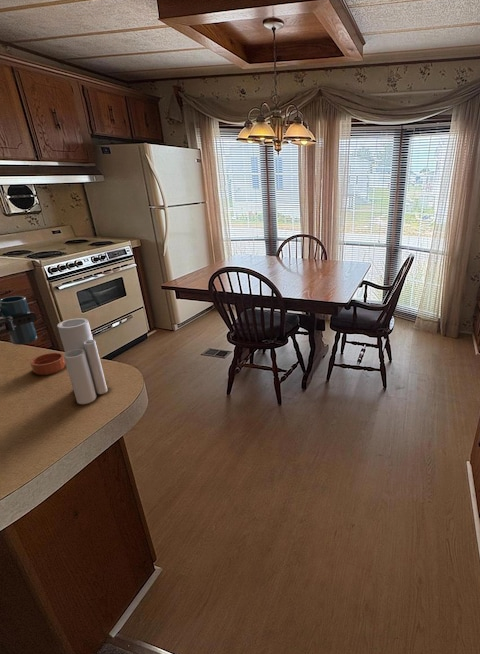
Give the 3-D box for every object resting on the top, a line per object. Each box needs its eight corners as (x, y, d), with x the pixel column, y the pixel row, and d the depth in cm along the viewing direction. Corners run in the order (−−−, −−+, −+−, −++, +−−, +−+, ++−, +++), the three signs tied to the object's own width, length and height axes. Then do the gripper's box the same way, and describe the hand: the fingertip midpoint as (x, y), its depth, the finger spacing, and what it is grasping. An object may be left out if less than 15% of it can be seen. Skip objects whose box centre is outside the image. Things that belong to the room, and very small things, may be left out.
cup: (12, 346, 75) (-2, 304, 72) (11, 339, 79) (-3, 298, 75) (38, 341, 78) (26, 300, 74) (36, 334, 81) (24, 294, 78)
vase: (75, 385, 97) (56, 321, 90) (104, 378, 101) (89, 316, 94) (77, 406, 89) (56, 337, 81) (109, 397, 93) (92, 330, 85)
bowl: (42, 378, 100) (39, 367, 99) (28, 370, 104) (24, 360, 102) (71, 366, 107) (68, 356, 106) (57, 359, 110) (54, 350, 109)
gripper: (-84, 328, 60) (37, 305, 73) (-90, 307, 68) (19, 290, 81) (-67, 365, 63) (46, 337, 75) (-75, 341, 71) (28, 319, 84)
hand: (32, 313), depth 78 cm, fingers closed on cup, 4 cm apart
